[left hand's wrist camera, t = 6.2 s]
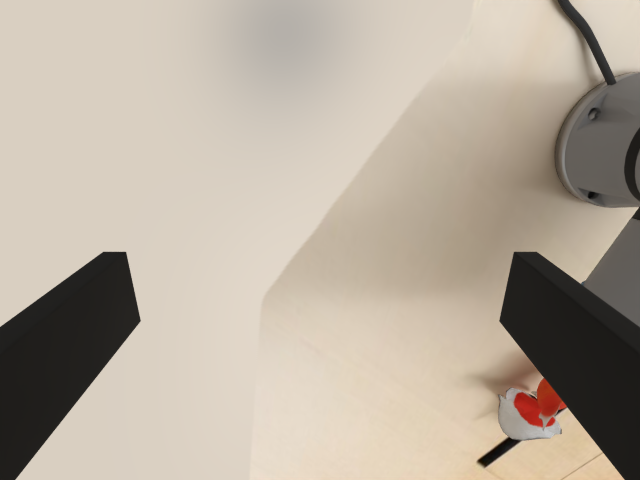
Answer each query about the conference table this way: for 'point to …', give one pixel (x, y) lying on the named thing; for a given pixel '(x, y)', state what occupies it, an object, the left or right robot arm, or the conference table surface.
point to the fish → (530, 413)
